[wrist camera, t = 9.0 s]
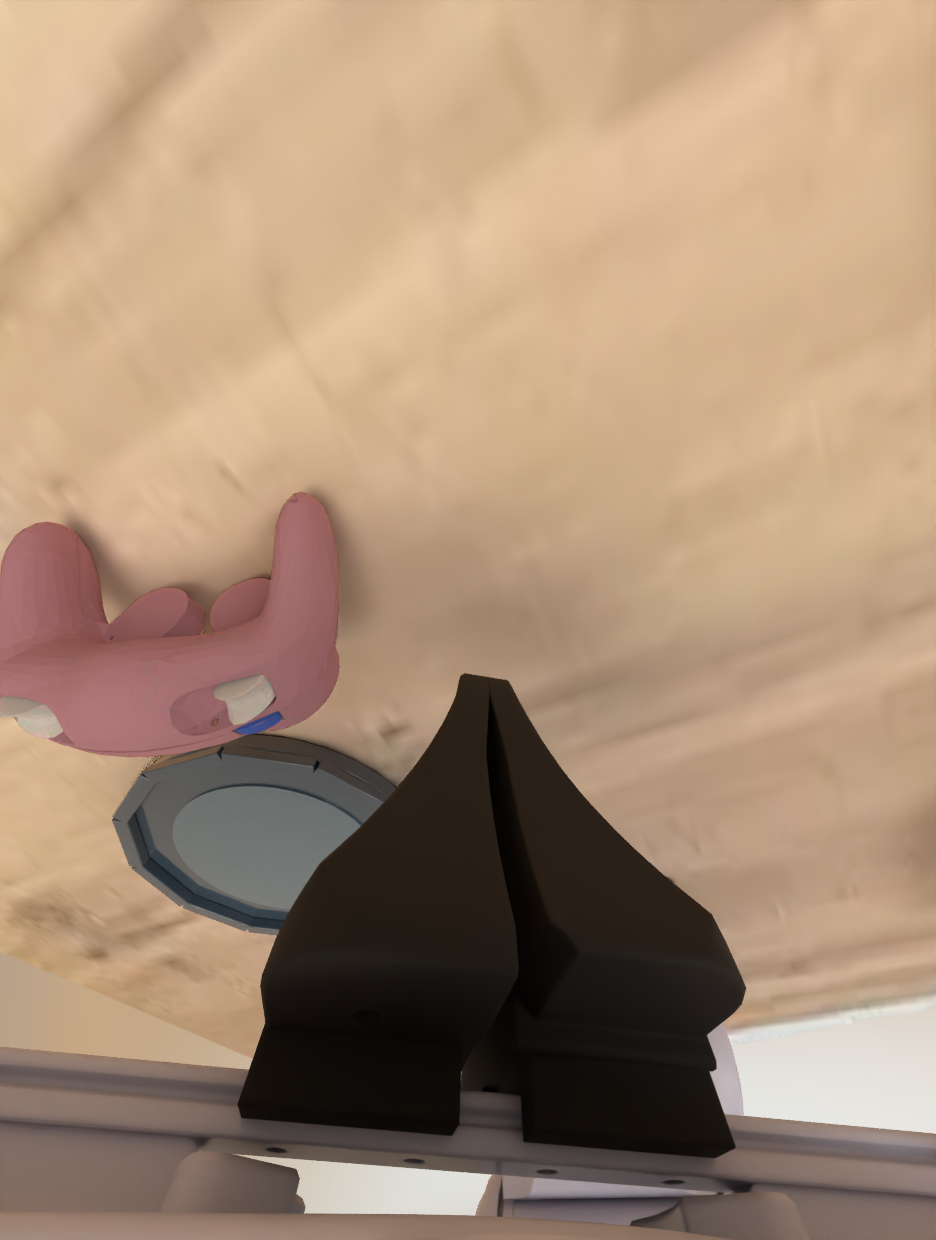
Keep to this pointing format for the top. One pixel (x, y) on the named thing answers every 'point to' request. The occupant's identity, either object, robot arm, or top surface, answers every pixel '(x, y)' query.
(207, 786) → the plate
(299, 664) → the video game controller
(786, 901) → the top surface
